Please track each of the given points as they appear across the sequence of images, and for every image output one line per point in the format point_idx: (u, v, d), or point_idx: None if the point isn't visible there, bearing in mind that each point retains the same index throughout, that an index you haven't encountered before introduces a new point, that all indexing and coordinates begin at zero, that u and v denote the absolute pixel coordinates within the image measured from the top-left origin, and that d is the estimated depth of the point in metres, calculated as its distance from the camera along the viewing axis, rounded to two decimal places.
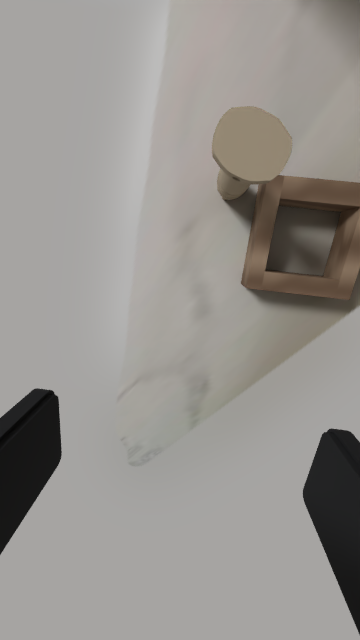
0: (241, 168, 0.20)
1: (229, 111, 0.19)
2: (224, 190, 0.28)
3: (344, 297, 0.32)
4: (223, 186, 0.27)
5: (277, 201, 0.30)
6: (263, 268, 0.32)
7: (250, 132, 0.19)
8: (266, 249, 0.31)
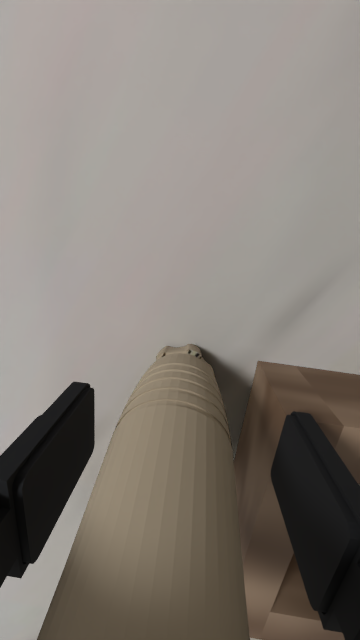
0: None
1: None
2: None
3: None
4: None
5: None
6: (266, 606, 0.12)
7: None
8: (276, 575, 0.11)
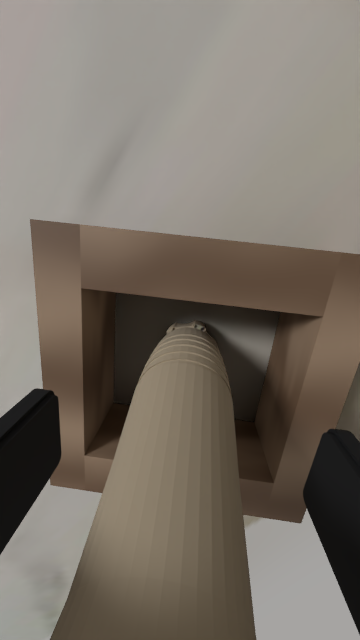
0: None
1: None
2: None
3: (288, 518, 0.13)
4: None
5: (76, 296, 0.10)
6: (79, 449, 0.13)
7: None
8: (76, 409, 0.12)
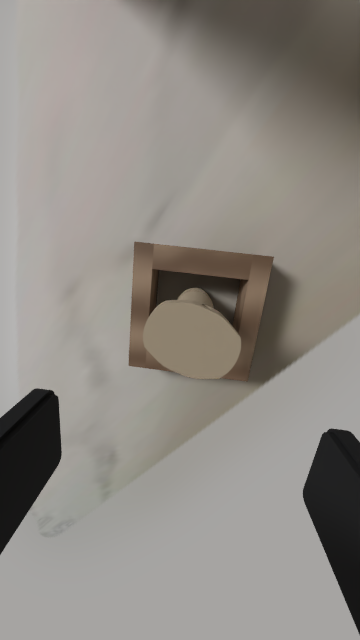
0: (180, 365, 0.16)
1: (161, 307, 0.15)
2: None
3: (241, 378, 0.27)
4: None
5: (149, 272, 0.25)
6: None
7: (188, 329, 0.15)
8: None
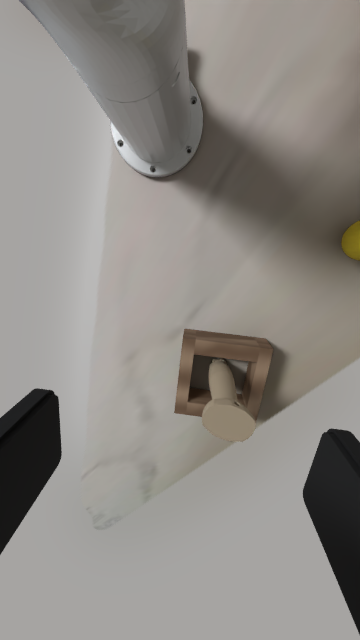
0: (222, 434, 0.29)
1: (213, 406, 0.28)
2: None
3: None
4: None
5: (192, 356, 0.38)
6: (186, 400, 0.40)
7: (227, 417, 0.28)
8: (187, 387, 0.40)
